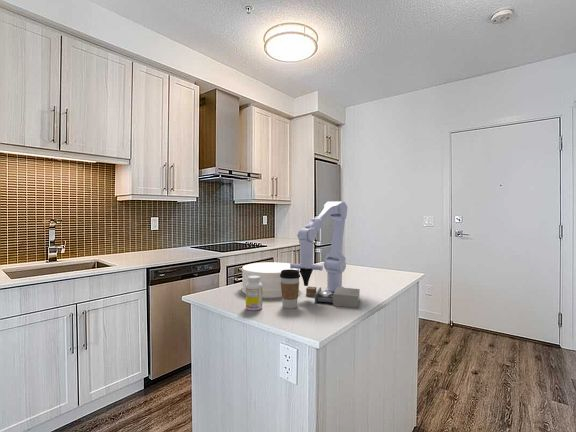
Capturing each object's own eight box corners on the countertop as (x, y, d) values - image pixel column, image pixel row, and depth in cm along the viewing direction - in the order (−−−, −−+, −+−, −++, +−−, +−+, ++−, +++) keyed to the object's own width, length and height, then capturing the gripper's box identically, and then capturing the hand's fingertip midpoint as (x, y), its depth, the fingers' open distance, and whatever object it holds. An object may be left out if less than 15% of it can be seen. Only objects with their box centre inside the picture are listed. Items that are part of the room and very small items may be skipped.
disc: (320, 294, 141) (320, 290, 140) (332, 295, 139) (332, 291, 139) (318, 298, 135) (318, 293, 135) (330, 299, 134) (330, 294, 134)
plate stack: (274, 301, 135) (274, 275, 135) (230, 291, 152) (230, 267, 152) (309, 288, 158) (309, 266, 158) (267, 280, 175) (267, 260, 174)
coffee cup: (282, 310, 124) (282, 272, 123) (277, 303, 132) (277, 268, 131) (302, 308, 126) (302, 271, 125) (296, 302, 134) (296, 267, 134)
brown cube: (308, 293, 148) (308, 286, 148) (316, 294, 147) (316, 287, 147) (306, 295, 144) (306, 288, 144) (314, 296, 143) (314, 289, 143)
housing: (336, 297, 142) (337, 287, 142) (359, 299, 139) (359, 289, 139) (333, 305, 130) (333, 294, 130) (357, 307, 127) (357, 296, 127)
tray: (318, 296, 144) (318, 287, 144) (341, 298, 141) (341, 289, 141) (313, 303, 133) (313, 293, 133) (337, 305, 130) (337, 296, 130)
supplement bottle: (254, 304, 130) (254, 274, 130) (265, 308, 126) (265, 276, 126) (242, 308, 125) (242, 276, 125) (253, 312, 121) (254, 279, 121)
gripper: (288, 255, 137) (288, 286, 138) (320, 257, 133) (320, 288, 133) (292, 253, 144) (292, 282, 144) (323, 255, 140) (323, 285, 140)
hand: (306, 285), depth 139 cm, fingers closed
